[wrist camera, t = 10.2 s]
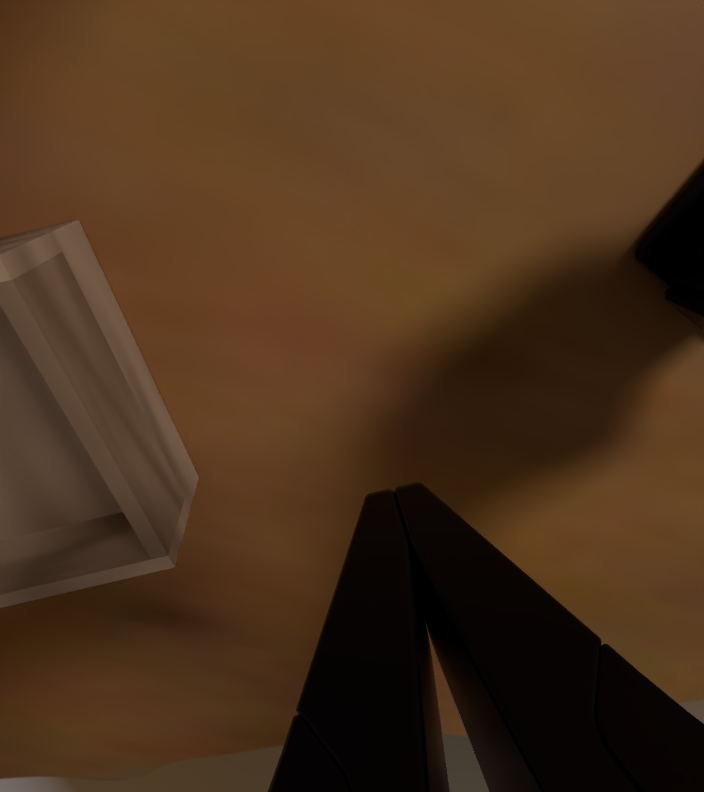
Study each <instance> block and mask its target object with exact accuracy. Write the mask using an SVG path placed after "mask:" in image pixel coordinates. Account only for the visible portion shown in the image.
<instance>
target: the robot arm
mask: <svg viewBox="0 0 704 792" xmlns="http://www.w3.org/2000/svg"><path fill="white" fill-rule="evenodd" d="M654 247H655V251H654V253H653V255H652V256H650V257H648V255H649V252H650V250H651V249H652V248H654ZM635 257H636V260H637V261H638V263H639V264H641V265H642V266H643V267H644V268H645V269H647V270H648V271H649V272H650V273H651V274H653V275H654V276H655V277H656V278H657V279H658V280H660V281H661V282H662V283H663V284H664V285H666V286H667V287H668V289H667V290H666V291H665V299H666V300H667V301H668V302H669V303H670V304H672V305H673V306H674V307H675V308H676V309H678V310H679V311H680V312H681V313H682V314H684V315H685V316H686V317H687V318H689V319H690V320H691V321H692V322H693V323H695V324H696V325H697V326H698V327H699V328H701V329H702V330H704V170H703V171H702V173H701V174H700V175H699V176H698V177H697V178H696V180H695V181H694V182H693V183H692V184H691V185H690V186H689V188H688V189H687V190H686V191H685V192H684V193H683V195H682V196H681V197H680V198H679V199H678V200H677V201H676V203H675V204H674V205H673V206H672V207H671V208H670V210H669V211H668V212H667V213H666V214H665V215H664V216H663V218H662V219H661V220H660V221H659V222H658V223H657V225H656V226H655V227H654V228H653V229H652V230H651V232H650V233H649V234H648V235H647V236H646V237H645V238H644V240H643V241H642V242H641V243H640V244H639V246H638V247H637V249H636V253H635ZM425 621H426V622H425ZM426 625H427V627H426ZM427 628H428V632H429V635H430V638H431V641H432V644H433V647H434V649H435V652H436V655H437V657H438V660H439V663H440V665H441V668H442V670H443V673H444V676H445V678H446V681H447V683H448V686H449V688H450V691H451V694H452V696H453V699H454V701H455V704H456V707H457V709H458V712H459V714H460V717H461V720H462V722H463V725H464V727H465V730H466V732H467V735H468V738H469V740H470V743H471V745H472V748H473V751H474V753H475V756H476V758H477V761H478V763H479V766H480V768H481V771H482V774H483V776H484V779H485V781H486V784H487V786H488V789H489V792H704V724H703V723H702V722H701V721H699V720H698V719H696V718H695V717H694V716H693V715H691V714H690V713H688V712H687V711H686V710H685V709H684V708H683V707H681V706H680V705H679V704H678V703H677V702H675V701H674V700H673V699H672V698H670V697H669V696H668V695H667V694H666V693H664V692H663V691H662V690H661V689H660V688H658V687H657V686H656V685H655V684H653V683H652V682H651V681H650V680H649V679H647V678H646V677H645V676H644V675H643V674H641V673H640V672H639V671H638V670H637V669H635V668H634V667H633V666H632V665H631V664H630V663H629V662H627V661H626V660H625V659H624V658H623V657H622V656H621V655H619V654H618V653H617V652H616V651H615V650H614V649H613V648H611V647H610V646H609V645H608V644H603V645H602V646H601V643H602V641H601V639H600V638H599V637H598V636H597V635H596V634H595V633H594V632H592V631H591V630H590V629H589V628H588V627H587V626H586V625H584V624H583V623H582V622H581V621H580V620H579V619H577V618H576V617H575V616H574V615H573V614H572V613H571V612H569V611H568V610H567V609H566V608H565V607H564V606H562V605H561V604H560V603H559V602H558V601H557V600H556V599H554V598H553V597H552V596H551V595H550V594H549V593H547V592H546V591H545V590H544V589H543V588H542V587H541V586H539V585H538V584H537V583H536V582H535V581H534V580H532V579H531V578H530V577H529V576H528V575H527V574H526V573H524V572H523V571H522V570H521V569H520V568H519V567H517V566H516V565H515V564H514V563H513V562H512V561H511V560H509V559H508V558H507V557H506V556H505V555H504V554H502V553H501V552H500V551H499V550H498V549H497V548H496V547H494V546H493V545H492V544H491V543H490V542H489V541H487V540H486V539H485V538H484V537H483V536H482V535H481V534H479V533H478V532H477V531H476V530H475V529H474V528H472V527H471V526H470V525H469V524H468V523H467V522H466V521H464V520H463V519H462V518H461V517H460V516H459V515H457V514H456V513H455V512H454V511H453V510H452V509H451V508H449V507H448V506H447V505H446V504H445V503H444V502H442V501H441V500H440V499H439V498H438V497H437V496H436V495H434V494H433V493H432V492H431V491H430V490H429V489H427V488H426V487H425V486H424V485H423V484H421V483H412V484H408V485H404V486H399V487H397V488H396V489H395V490H394V492H393V491H392V490H391V489H387V490H382V491H378V492H374V493H370V494H368V495H367V496H366V497H365V500H364V503H363V506H362V509H361V512H360V515H359V518H358V521H357V524H356V527H355V530H354V533H353V536H352V540H351V543H350V546H349V549H348V552H347V555H346V558H345V561H344V564H343V567H342V570H341V573H340V576H339V579H338V582H337V586H336V589H335V592H334V595H333V598H332V601H331V604H330V607H329V610H328V613H327V616H326V619H325V622H324V625H323V629H322V632H321V635H320V638H319V641H318V644H317V647H316V650H315V653H314V656H313V659H312V662H311V665H310V668H309V671H308V675H307V678H306V681H305V684H304V687H303V690H302V693H301V696H300V699H299V702H298V705H297V709H296V711H297V714H298V715H296V716H294V717H293V720H292V723H291V726H290V729H289V732H288V735H287V738H286V741H285V744H284V747H283V750H282V753H281V756H280V759H279V762H278V765H277V767H276V770H275V773H274V776H273V779H272V782H271V784H270V787H269V790H268V792H450V789H449V782H448V774H447V767H446V759H445V752H444V744H443V737H442V730H441V722H440V715H439V707H438V700H437V692H436V685H435V678H434V670H433V663H432V655H431V649H430V643H429V637H428V632H427Z"/></svg>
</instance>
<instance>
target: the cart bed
mask: <svg viewBox="0 0 704 792" xmlns="http://www.w3.org/2000/svg"><path fill="white" fill-rule="evenodd" d="M198 479H199V477H198V475H197V472H196V470H195V468H194V466H193V464H192V462H191V460H190V457H189V455H188V453H187V451H186V449H185V447H184V445H183V442H182V440H181V438H180V436H179V434H178V432H177V430H176V427H175V425H174V423H173V421H172V419H171V417H170V415H169V412H168V410H167V408H166V406H165V404H164V402H163V400H162V397H161V395H160V393H159V391H158V389H157V387H156V385H155V382H154V380H153V378H152V376H151V374H150V372H149V370H148V368H147V365H146V363H145V361H144V359H143V357H142V355H141V353H140V350H139V348H138V346H137V344H136V342H135V340H134V338H133V335H132V333H131V331H130V329H129V327H128V325H127V323H126V320H125V318H124V316H123V314H122V312H121V310H120V308H119V305H118V303H117V301H116V299H115V297H114V295H113V293H112V290H111V288H110V286H109V284H108V282H107V280H106V278H105V275H104V273H103V271H102V269H101V267H100V265H99V263H98V260H97V258H96V256H95V254H94V252H93V250H92V248H91V245H90V243H89V241H88V239H87V237H86V235H85V233H84V230H83V228H82V226H81V224H80V222H79V220H75V221H70V222H66V223H62V224H58V225H54V226H49V227H45V228H41V229H37V230H33V231H28V232H24V233H20V234H16V235H12V236H8V237H3V238H0V608H3V607H7V606H11V605H16V604H20V603H24V602H29V601H33V600H37V599H41V598H46V597H50V596H54V595H59V594H63V593H67V592H72V591H76V590H80V589H84V588H89V587H93V586H97V585H102V584H106V583H110V582H115V581H119V580H123V579H127V578H132V577H136V576H140V575H145V574H149V573H153V572H158V571H162V570H166V569H170V568H175V566H176V562H177V558H178V554H179V551H180V547H181V543H182V539H183V535H184V532H185V528H186V524H187V520H188V516H189V513H190V509H191V505H192V501H193V498H194V494H195V490H196V486H197V482H198Z"/></svg>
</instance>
